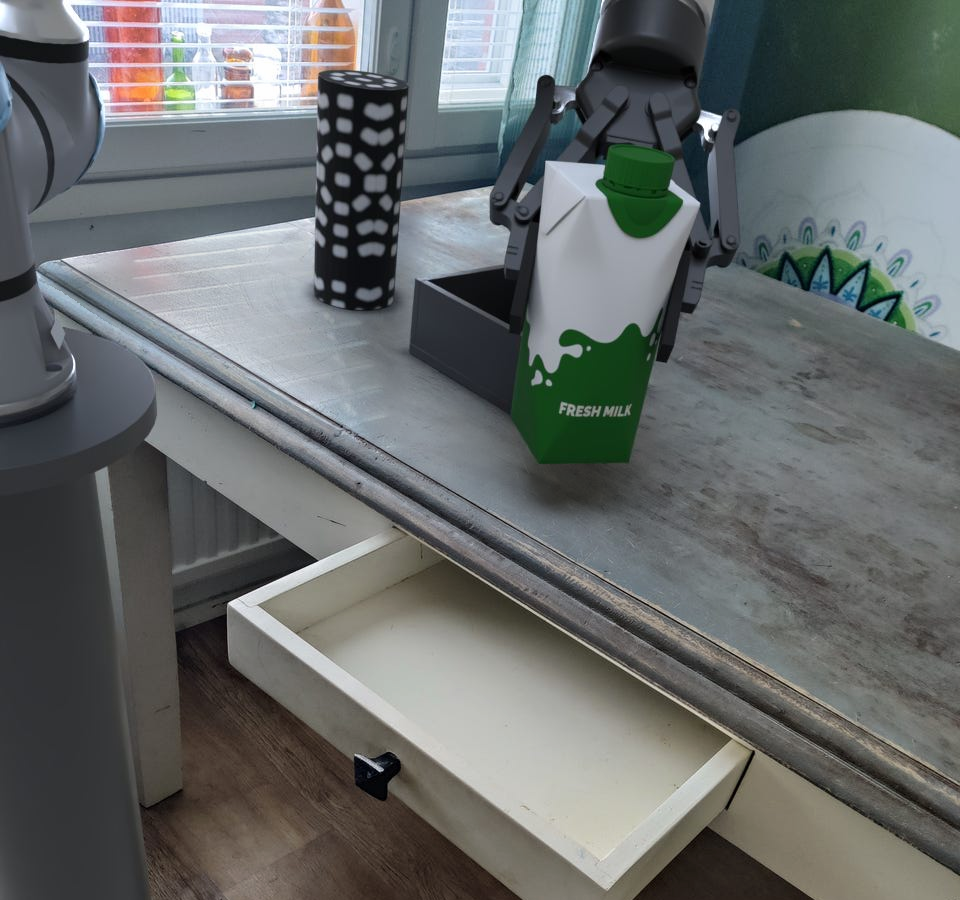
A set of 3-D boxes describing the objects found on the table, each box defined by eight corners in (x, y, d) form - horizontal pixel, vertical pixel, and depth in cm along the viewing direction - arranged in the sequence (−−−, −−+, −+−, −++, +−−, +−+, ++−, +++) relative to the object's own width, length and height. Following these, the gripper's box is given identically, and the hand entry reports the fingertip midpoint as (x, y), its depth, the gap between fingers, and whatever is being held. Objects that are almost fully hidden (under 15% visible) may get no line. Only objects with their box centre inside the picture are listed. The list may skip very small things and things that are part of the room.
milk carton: (529, 472, 68) (586, 158, 55) (494, 411, 74) (538, 119, 62) (645, 469, 70) (725, 169, 58) (601, 411, 77) (664, 130, 64)
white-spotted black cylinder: (405, 292, 106) (421, 82, 93) (375, 316, 99) (388, 94, 87) (334, 275, 107) (340, 66, 95) (300, 298, 101) (302, 76, 88)
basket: (408, 352, 93) (414, 278, 89) (527, 327, 102) (538, 258, 98) (519, 420, 85) (532, 342, 80) (638, 386, 94) (655, 314, 89)
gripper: (795, 95, 70) (741, 392, 68) (494, 41, 71) (429, 332, 68) (831, 17, 63) (771, 347, 60) (494, -43, 64) (421, 280, 61)
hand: (589, 339), depth 64 cm, fingers closed on milk carton, 9 cm apart
